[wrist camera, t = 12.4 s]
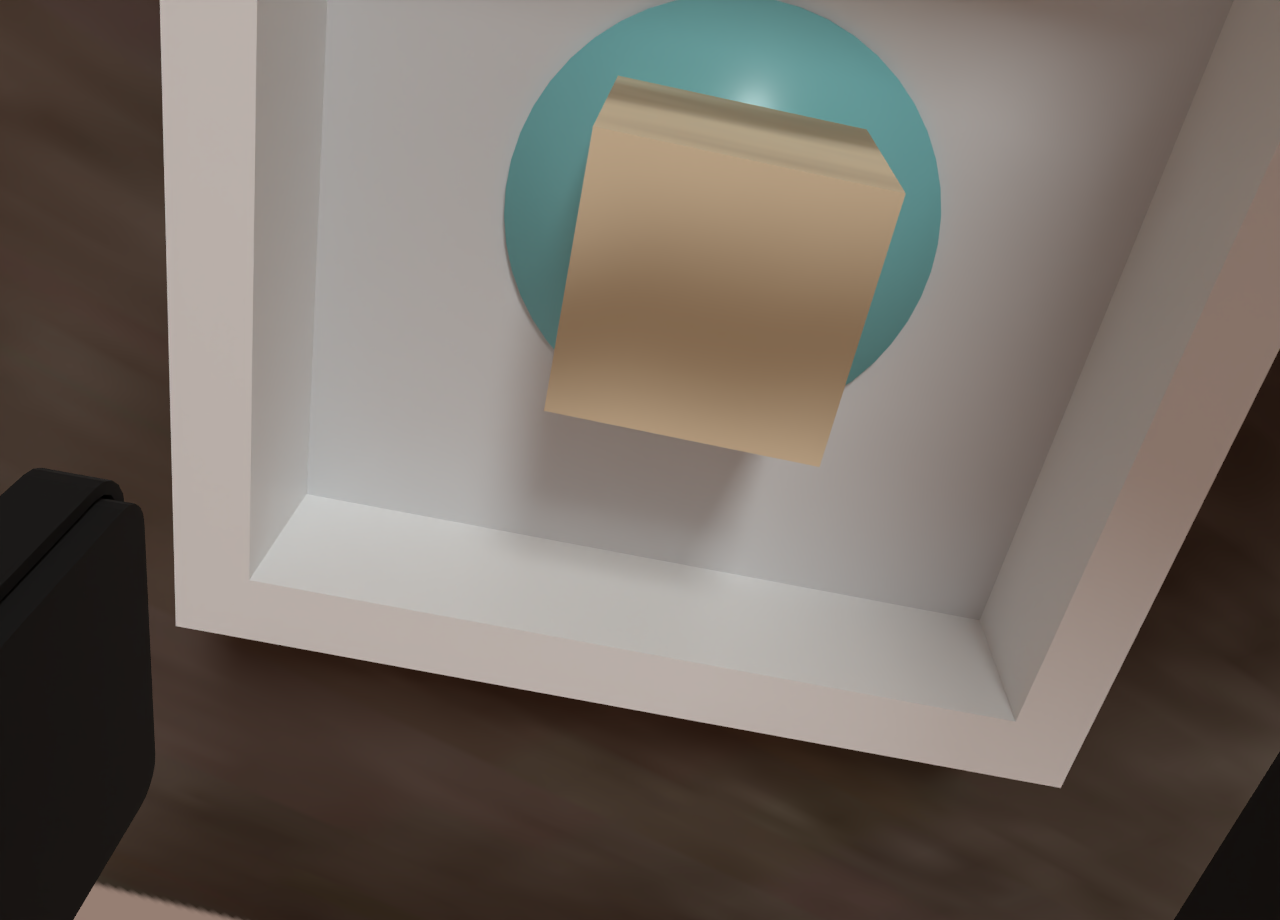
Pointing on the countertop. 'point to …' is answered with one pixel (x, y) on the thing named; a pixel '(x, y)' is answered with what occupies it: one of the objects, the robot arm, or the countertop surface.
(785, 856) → the countertop surface
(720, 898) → the countertop surface
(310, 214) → the shallow white dish
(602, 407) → the maple block
